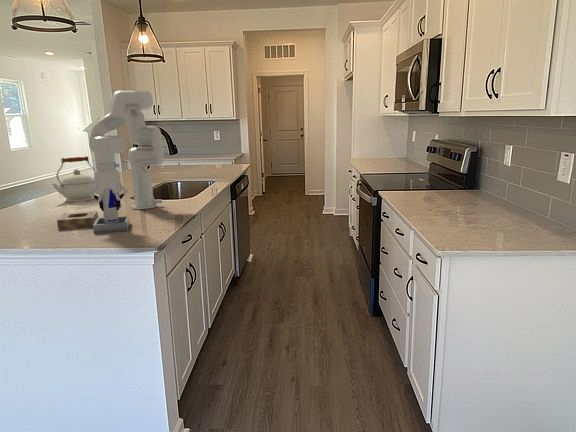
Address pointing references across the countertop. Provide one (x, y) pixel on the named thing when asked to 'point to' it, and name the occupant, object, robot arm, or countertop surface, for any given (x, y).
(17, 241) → the countertop surface
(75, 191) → the kettle
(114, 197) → the beverage can
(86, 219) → the socket block
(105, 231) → the tray
